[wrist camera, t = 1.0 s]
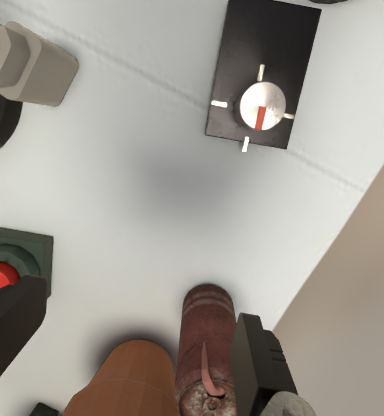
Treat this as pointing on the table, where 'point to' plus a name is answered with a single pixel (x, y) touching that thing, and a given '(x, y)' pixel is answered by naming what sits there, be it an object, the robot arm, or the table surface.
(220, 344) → the can
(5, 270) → the button
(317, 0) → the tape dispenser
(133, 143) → the table surface
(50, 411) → the ceramic cat
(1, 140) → the lamp
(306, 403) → the robot arm
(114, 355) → the potted plant
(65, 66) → the power adapter
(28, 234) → the box
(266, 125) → the knob
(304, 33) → the panel
